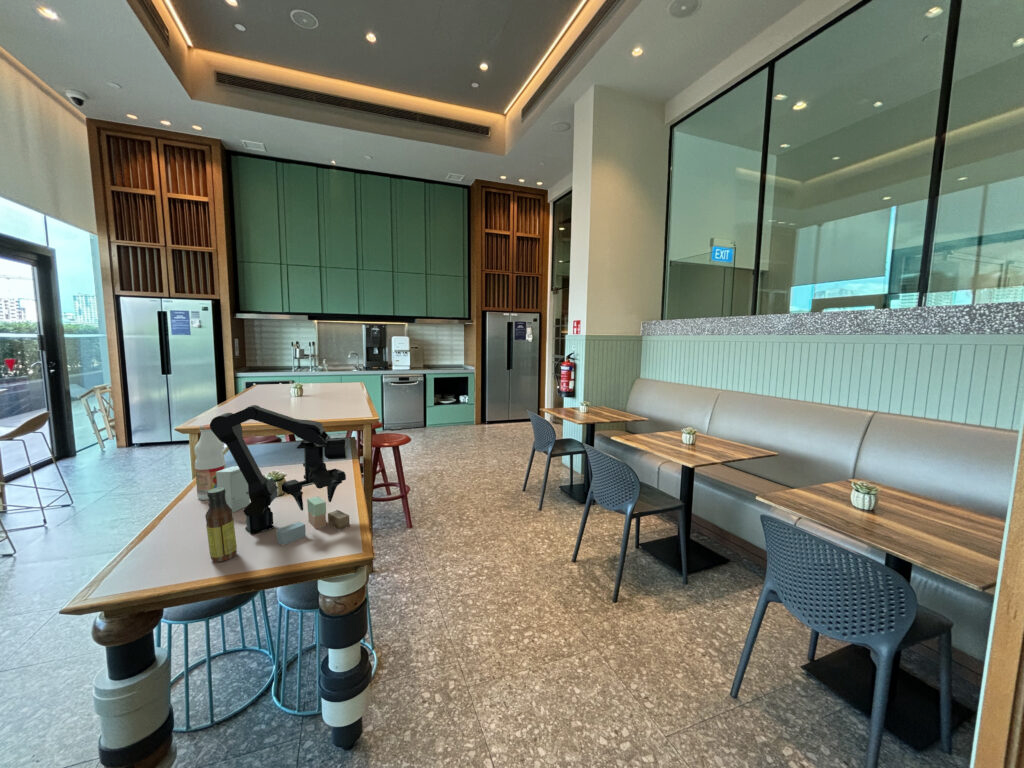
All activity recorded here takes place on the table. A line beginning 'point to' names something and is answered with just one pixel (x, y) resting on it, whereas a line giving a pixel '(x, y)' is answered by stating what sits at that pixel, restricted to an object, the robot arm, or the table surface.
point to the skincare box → (233, 487)
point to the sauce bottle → (220, 527)
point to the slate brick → (291, 533)
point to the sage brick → (316, 506)
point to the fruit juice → (208, 461)
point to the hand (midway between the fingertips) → (316, 506)
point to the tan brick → (317, 520)
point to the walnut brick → (338, 520)
